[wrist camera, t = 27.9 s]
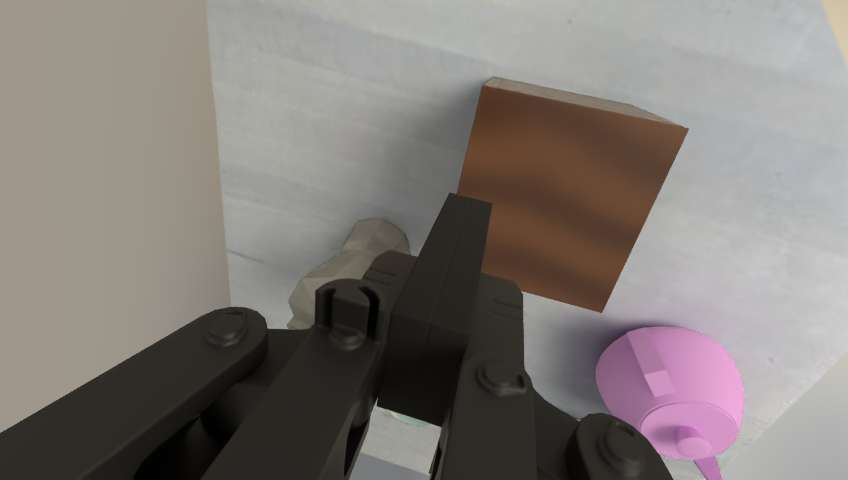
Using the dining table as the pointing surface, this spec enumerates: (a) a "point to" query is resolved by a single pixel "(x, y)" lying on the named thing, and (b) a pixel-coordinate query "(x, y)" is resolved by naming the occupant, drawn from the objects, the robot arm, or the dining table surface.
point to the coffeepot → (345, 265)
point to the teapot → (674, 392)
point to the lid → (563, 191)
